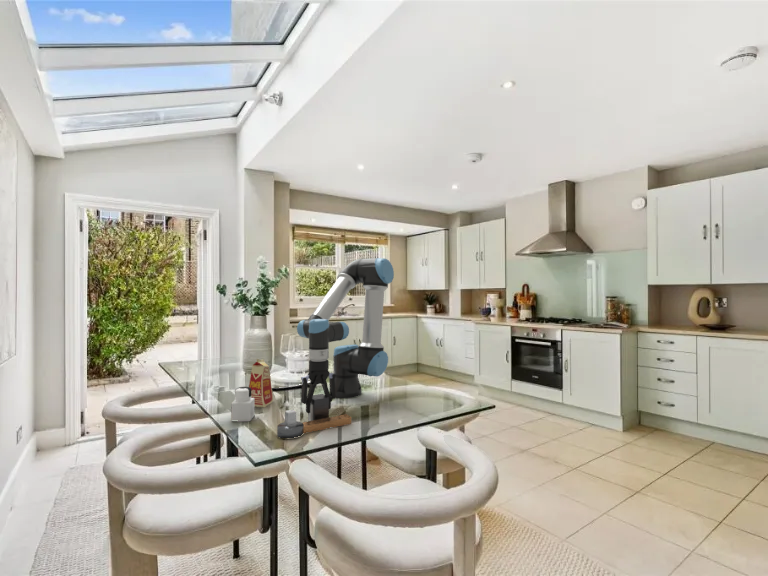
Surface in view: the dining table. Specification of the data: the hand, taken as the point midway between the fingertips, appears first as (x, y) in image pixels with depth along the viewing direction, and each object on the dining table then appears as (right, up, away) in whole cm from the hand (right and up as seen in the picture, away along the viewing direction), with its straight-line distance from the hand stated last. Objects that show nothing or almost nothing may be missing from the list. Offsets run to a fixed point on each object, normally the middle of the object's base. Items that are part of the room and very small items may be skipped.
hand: (318, 419), depth 156 cm
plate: (-29, 0, +55) cm, 62 cm away
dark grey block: (0, 0, 0) cm, 0 cm away
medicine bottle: (-29, 0, +1) cm, 29 cm away
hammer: (0, 0, -9) cm, 9 cm away
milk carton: (-29, 0, +21) cm, 36 cm away
